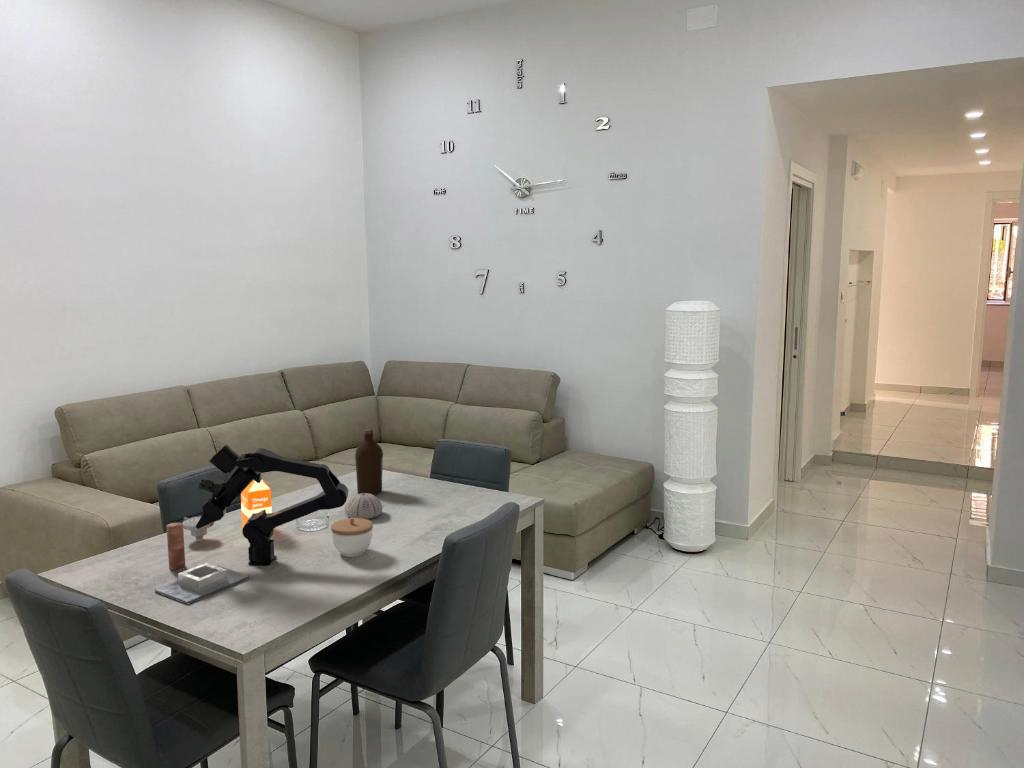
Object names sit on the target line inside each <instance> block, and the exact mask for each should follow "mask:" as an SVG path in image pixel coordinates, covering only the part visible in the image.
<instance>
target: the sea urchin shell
mask: <svg viewBox="0 0 1024 768" xmlns="http://www.w3.org/2000/svg"><path fill="white" fill-rule="evenodd" d="M344 505H345V507H344V512H345V515H346V516H347V518H362V519H367V520H371V519H374V518H377V517H379V516H380V515H381V514H382V512H383V504H382V502H381V500H380V499H379V498H378V497H377V495H372V494H368V493H361V494H358V493H357V494H356V495H353V496H352V497H351V498H349V500H347V501H346V503H345V504H344Z"/></svg>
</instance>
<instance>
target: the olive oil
mask: <svg viewBox="0 0 1024 768" xmlns="http://www.w3.org/2000/svg"><path fill="white" fill-rule="evenodd" d="M373 432H374V430H373V429H372V428H371V429H370V428H367V429H365V430H364V435H363V436H364V440H362V442H360V444H359V445H357V448H356V450H355V453H354V458H355V459H354V460H355V470H356V471H355V472H356V488H357V495H358V494H361V493H368V494H372V495H374V496H378V495H381V493H383V467H384V466H383V462H384V452H383V449H382V447H381V446H380V445H379V443H377V441H375V440H374V433H373Z"/></svg>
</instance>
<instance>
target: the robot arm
mask: <svg viewBox="0 0 1024 768" xmlns="http://www.w3.org/2000/svg"><path fill="white" fill-rule="evenodd" d="M208 462H209V463H210V464H211V465H212V466H213V467H215V468H216V469H217V470H219V471H220V472H221V473H222V474H224V475H225V474H231V475H229V477H226V478H225V479H224V480H221V479H220V478H218V477H215V476H212V475H209V474H203V476H202V477H201V478H200V481H199V483H198V486H197V489H199V490H203V491H206V492H209V493H212V494H211V496H212V497H211V498H208V499H207V501H205V502H204V504H203V505H202V506H201V509H202V512H203V513H202V515H201V516H200V517H201V518H200V520H199V521H198V523H197V525H196V526H195V527H196V528H197V529H199V528H201V527H204V526H206V525H208V524H210V523H213V522H214V523H215V522H219V521H221V519H223V518H224V516H225V515H226V513H227V508H229V507H231V505H232V504H233V503H234V501H236V499H237V498H239V497H241V493H242V492H243V491H244V490H245V488H246V487H247V486H248V485H249V484H250V483H251V482H252V481H253V480H255V481H256V482H257V483H260V481H261V480H263V478H262V473H271V472H279V473H280V472H281V473H286V474H291V475H295V476H296V475H297V476H301V477H306V478H312V479H316V480H317V482H318V483H319V485H320V487H321V489H322V491H321V492H320V493H318V494H317V495H315V496H313V497H310V498H307V499H305V500H303V501H301V502H298V503H297V502H296V503H295V504H293V505H290V506H288V507H285V508H282V509H280V510H277V511H274V512H272V513H266V510H265V509H264V510H262V511H261V512H259V513H253V514H252V516H251V517H250V518H249V519H248V521H247V522H246V524H245V525H244V527H243V528H242V536H243V537H244V538H245V539H246V540H248V543H249V546H248V549H247V550H248V563H247V565H249V566H252V565H253V566H271V564H272V563H273V562H274V561H275V560H276V559H277V557H278V556H277V555H275V539H271V538H273V535H274V532H275V530H274V529H275V528H277V527H279V526H283V525H285V524H287V523H290V522H293V521H295V520H298V519H300V518H302V517H306V516H308V515H310V514H313V513H315V512H319V511H323V510H325V511H326V510H334V509H338V508H341V507H343V506H344V505H346V503H347V501H348V496H349V488H348V487H347V486H346V485H345V484H344V483H341V481H340V480H339V478H338V477H337V476H336V475H335V474H334V473H333V472H332V470H331V469H330V467H329V466H328V465H327V464H325V463H315V462H311V461H305V460H301V459H295V458H289V457H286V456H285V457H284V456H282V455H279V454H277V453H276V452H274V451H271V450H269V449H265V448H264V447H263V448H262V447H258V448H256V449H254V450H253V451H252V452H248V453H242V454H241V455H239V454H238V453H237V452H235V450H233V449H232V448H231V447H230V445H228V444H224V446H222V448H221V449H220V450H218V451H217V452H215V454H214V455H213V456H212V457H211V459H209V461H208ZM236 467H237V468H236ZM235 468H236V469H235ZM234 469H235V470H234ZM233 470H234V471H233ZM232 471H233V472H232Z"/></svg>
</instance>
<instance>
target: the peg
mask: <svg viewBox="0 0 1024 768" xmlns="http://www.w3.org/2000/svg"><path fill="white" fill-rule="evenodd" d="M182 523H183V522H171V523H169V524H166V537H167V539H166V540H167V541H166V542H167V555H168V570H169V569H170V570H169V571H172V570H177V571H180V570H179V569H182V570H183V568H184V569H185V568H186V554H185V553H186V551H185V536H184V535H185V534H184V528H183V524H182Z"/></svg>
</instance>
